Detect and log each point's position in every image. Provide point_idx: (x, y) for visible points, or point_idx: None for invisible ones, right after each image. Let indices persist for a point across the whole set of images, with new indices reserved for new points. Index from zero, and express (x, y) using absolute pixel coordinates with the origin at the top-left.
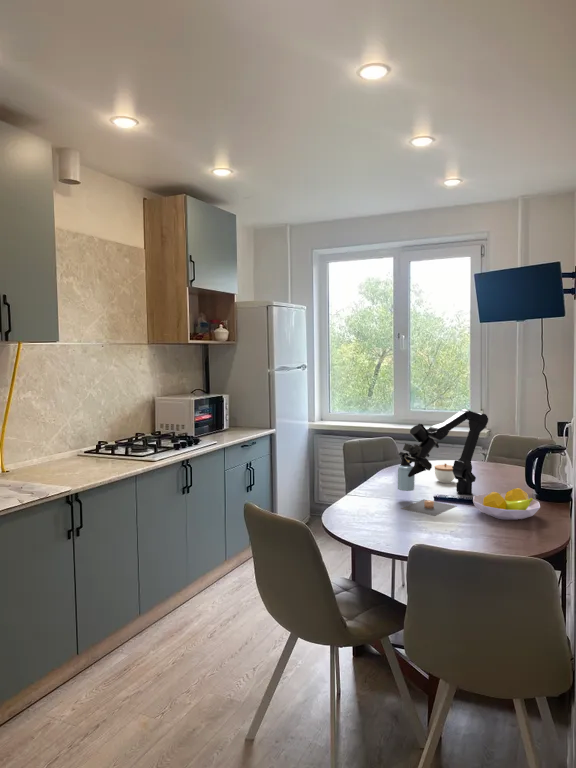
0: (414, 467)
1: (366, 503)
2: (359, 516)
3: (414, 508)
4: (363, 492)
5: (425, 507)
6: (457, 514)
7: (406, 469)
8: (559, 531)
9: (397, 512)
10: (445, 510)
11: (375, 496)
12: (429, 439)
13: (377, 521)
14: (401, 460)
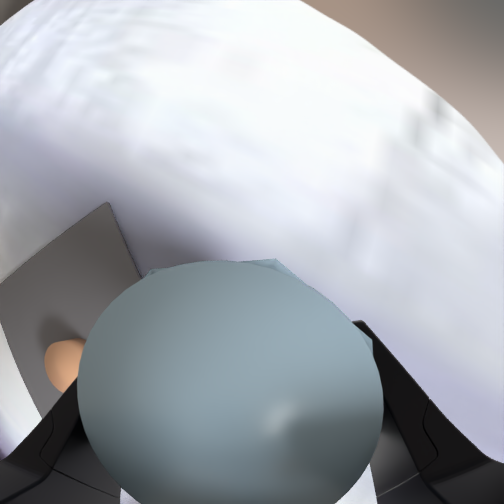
0: (31, 441)
1: (276, 85)
2: (118, 25)
3: (82, 275)
4: (482, 179)
5: (75, 338)
6: (5, 400)
7: (94, 336)
8: None
9: (81, 167)
10: (32, 392)
11: (404, 196)
12: None
13: (50, 67)
14: (499, 464)
